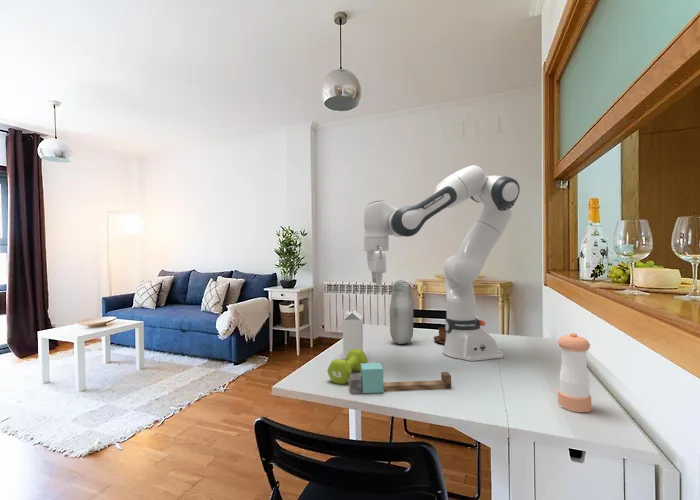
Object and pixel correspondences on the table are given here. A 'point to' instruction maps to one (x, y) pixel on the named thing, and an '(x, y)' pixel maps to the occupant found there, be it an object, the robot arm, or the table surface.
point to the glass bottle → (401, 313)
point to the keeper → (372, 377)
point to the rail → (403, 384)
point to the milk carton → (352, 332)
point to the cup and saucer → (441, 336)
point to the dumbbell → (346, 366)
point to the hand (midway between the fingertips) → (376, 284)
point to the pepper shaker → (574, 374)
